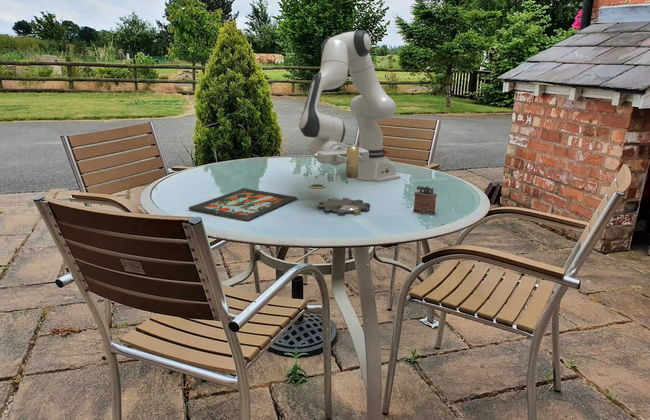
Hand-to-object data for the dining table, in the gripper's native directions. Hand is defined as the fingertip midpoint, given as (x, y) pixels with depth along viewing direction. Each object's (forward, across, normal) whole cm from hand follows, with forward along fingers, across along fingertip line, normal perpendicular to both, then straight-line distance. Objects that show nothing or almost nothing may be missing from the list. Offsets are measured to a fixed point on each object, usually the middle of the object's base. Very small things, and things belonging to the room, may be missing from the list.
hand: (353, 159), depth 174 cm
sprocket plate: (-5, 0, +19) cm, 20 cm away
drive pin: (-1, 0, +6) cm, 7 cm away
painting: (-25, -32, +20) cm, 46 cm away
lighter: (+13, +24, +19) cm, 33 cm away
